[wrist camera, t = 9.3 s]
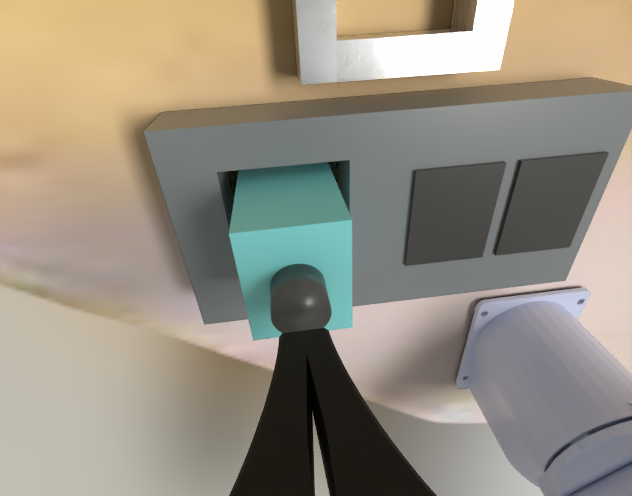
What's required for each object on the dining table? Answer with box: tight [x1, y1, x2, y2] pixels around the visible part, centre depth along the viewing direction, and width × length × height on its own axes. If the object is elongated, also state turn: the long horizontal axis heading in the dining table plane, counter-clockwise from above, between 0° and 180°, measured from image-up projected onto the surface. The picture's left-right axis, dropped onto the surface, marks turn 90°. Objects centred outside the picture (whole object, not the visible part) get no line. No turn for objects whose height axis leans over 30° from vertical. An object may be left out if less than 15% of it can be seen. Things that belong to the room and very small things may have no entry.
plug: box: [229, 162, 352, 340], centre depth 15 cm, size 5×4×8 cm
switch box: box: [144, 77, 632, 324], centre depth 18 cm, size 10×20×3 cm, turn 93°
